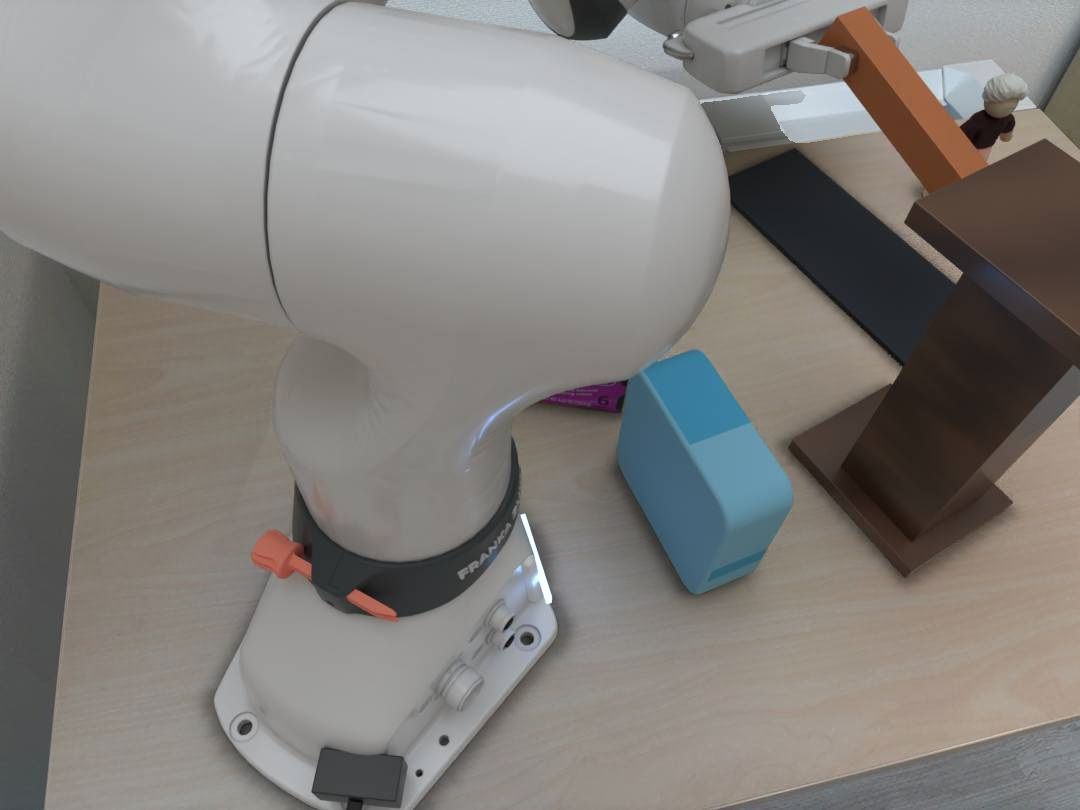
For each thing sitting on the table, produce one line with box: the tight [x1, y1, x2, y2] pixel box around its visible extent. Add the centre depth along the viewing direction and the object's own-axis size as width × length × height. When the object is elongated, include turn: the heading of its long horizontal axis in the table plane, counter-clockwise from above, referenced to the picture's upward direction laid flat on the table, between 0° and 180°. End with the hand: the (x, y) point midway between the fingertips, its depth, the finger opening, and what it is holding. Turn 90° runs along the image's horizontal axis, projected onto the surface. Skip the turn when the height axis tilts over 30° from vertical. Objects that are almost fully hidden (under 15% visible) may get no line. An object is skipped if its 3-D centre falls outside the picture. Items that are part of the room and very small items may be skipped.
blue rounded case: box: [616, 349, 795, 596], centre depth 54 cm, size 12×4×12 cm, turn 23°
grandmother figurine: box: [921, 72, 1029, 198], centre depth 73 cm, size 8×4×13 cm, turn 121°
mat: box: [728, 147, 956, 368], centre depth 73 cm, size 26×10×1 cm, turn 32°
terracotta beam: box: [818, 6, 990, 194], centre depth 63 cm, size 20×3×3 cm, turn 33°
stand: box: [787, 138, 1080, 578], centre depth 51 cm, size 12×10×24 cm
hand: (872, 58), depth 64 cm, fingers closed on terracotta beam, 3 cm apart
